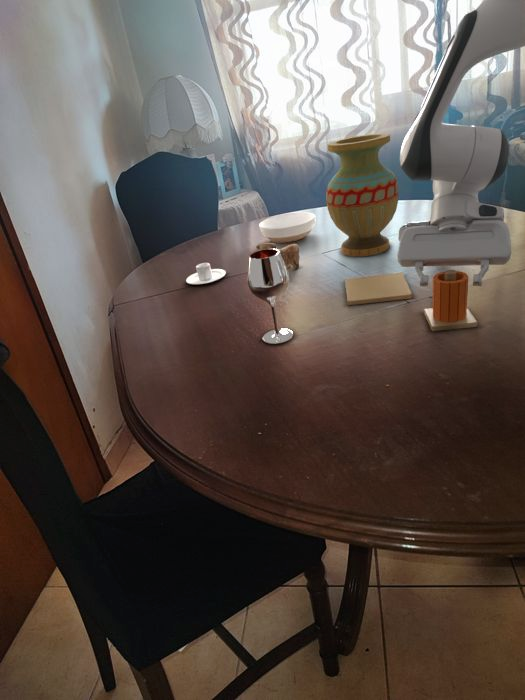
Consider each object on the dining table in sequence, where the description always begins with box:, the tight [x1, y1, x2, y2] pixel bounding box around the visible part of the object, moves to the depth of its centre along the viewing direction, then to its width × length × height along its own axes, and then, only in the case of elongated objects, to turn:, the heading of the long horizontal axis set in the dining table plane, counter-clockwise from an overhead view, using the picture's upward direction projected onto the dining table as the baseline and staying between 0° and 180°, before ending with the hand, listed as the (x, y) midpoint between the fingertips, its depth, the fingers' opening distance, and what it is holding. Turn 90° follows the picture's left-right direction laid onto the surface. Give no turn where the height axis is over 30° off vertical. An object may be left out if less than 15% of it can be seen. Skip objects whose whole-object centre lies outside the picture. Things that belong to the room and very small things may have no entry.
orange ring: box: [432, 270, 469, 322], centre depth 88 cm, size 6×6×8 cm
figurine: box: [256, 242, 301, 270], centre depth 128 cm, size 7×16×10 cm, turn 139°
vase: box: [325, 132, 399, 257], centre depth 130 cm, size 20×20×30 cm
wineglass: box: [247, 248, 294, 345], centre depth 92 cm, size 8×8×18 cm
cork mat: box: [344, 271, 413, 306], centre depth 109 cm, size 14×14×1 cm
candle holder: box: [185, 262, 227, 285], centre depth 136 cm, size 12×12×4 cm
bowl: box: [258, 211, 317, 244], centre depth 159 cm, size 20×20×6 cm
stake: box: [423, 269, 478, 332], centre depth 88 cm, size 8×8×10 cm
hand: (449, 285), depth 88 cm, fingers open, 8 cm apart
